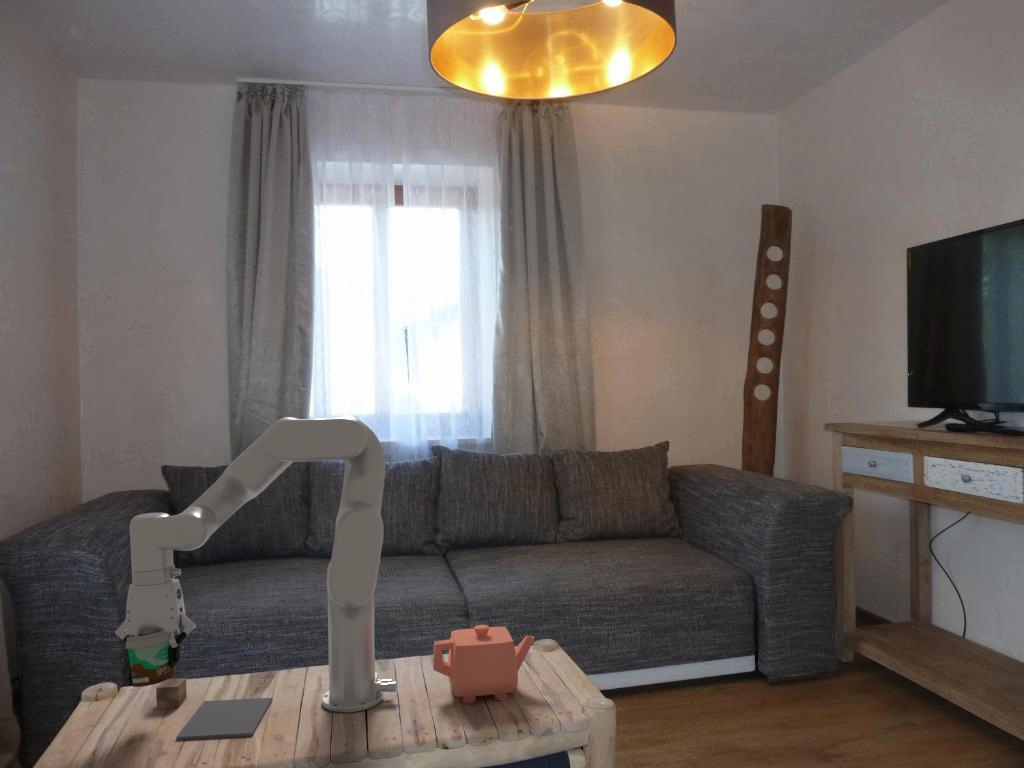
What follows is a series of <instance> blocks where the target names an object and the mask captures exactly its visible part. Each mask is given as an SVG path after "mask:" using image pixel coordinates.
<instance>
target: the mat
mask: <svg viewBox="0 0 1024 768" xmlns="http://www.w3.org/2000/svg"><path fill="white" fill-rule="evenodd" d="M272 700H273V697H260V698H259V697H257V698H241V699H240V698H239V699H237V698H236V699H222V700H221V699H220V700H204V701H203V702H202V703H201V704H200V706H199V707H198V709H197V710H196V711H195V713H194V714H193V715H192V716H191V718H190V719H189V720H188V721H187V723H186V724H185V726H184V727H182V729H181V730H180V732H179V733H178V734H177V736H176V741H184V740H202V739H203V738H207V739H222V737H226V738H238V737H239V738H240V737H243V738H244V737H253V736H254V734H255V732H256V731H257V729H258V728H259V726H260V724H261V722H262V720H263V718H264V717H265V715H266V713H267V711H268V710H269V708H270V706H271V705H272V702H273V701H272ZM203 740H204V739H203Z"/></svg>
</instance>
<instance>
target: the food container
mask: <svg viewBox="0 0 1024 768" xmlns="http://www.w3.org/2000/svg"><path fill="white" fill-rule="evenodd" d="M178 631H179V634H180V633H181V632H180V628H179V629H178ZM174 635H175V637H176V636H177V635H178V633H177V631H176V632H175V633H174ZM170 639H172V638H171V635H170V634H168V633H165V630H163V631H161V632H157V633H154V634H149V635H142V636H138V637H127V641H126V643H125V650H127V652H128V653H127V654H128V659H129V667H130V673H131V674H130V675H131V680H132V686H133V687H132V688H135V687H136V688H139V687H148V686H152V685H156V684H160V683H161V682H163V681H165V680H167V679H172V677H174V676H175V675H176V666H177V664H176V665H175V667H174V668H169V659H168V649H169V648H170V643H169V640H170Z"/></svg>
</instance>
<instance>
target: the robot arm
mask: <svg viewBox="0 0 1024 768" xmlns="http://www.w3.org/2000/svg"><path fill="white" fill-rule="evenodd" d="M324 461H327V462H328V461H329V462H330V461H343V462H344V476H343V482H342V492H341V497H340V498H341V499H340V503H339V509H338V512H337V514H336V515H337V516H336V518H335V524H334V525H335V531H334V540H333V545H332V551H331V552H332V553H331V557H330V562H329V563H328V565H327V570H326V571H327V572H326V584H327V585H326V587H327V588H326V589H327V619H328V620H327V621H328V622H327V624H328V628H327V632H328V633H327V634H328V636H327V637H328V683H329V684H328V685H329V688H328V689H329V690H326V692H324V693H323V694H322V697H321V705H322V707H323V708H325V709H327V710H328V711H332V712H335V713H355V712H361V711H364V710H368V709H371V708H374V707H375V706H376V705H378V704H379V703H381V702H382V700H383V698H384V693H385V692H387V693H396V692H397V681H392V678H385V679H381V678H379V673H378V672H376V656H375V651H376V649H375V593H374V592H375V590H376V586H377V585H376V584H377V581H378V574H379V567H380V564H381V563H380V562H381V555H382V548H383V542H384V531H385V529H384V528H385V527H384V521H383V519H382V503H383V498H384V497H383V496H384V487H385V486H384V484H385V478H386V457H385V453H384V449H383V446H382V444H381V442H380V439H379V438H378V437H377V435H376V434H375V432H374V431H373V430H372V429H371V428H370V427H369V426H368V425H367V424H366V423H364V422H363V421H362V420H360V419H359V418H358V417H355V416H352V415H346V414H343V415H340V416H336V417H331V418H303V419H301V418H296V417H293V416H291V417H290V416H286V417H282V418H279V419H278V420H276V421H275V422H273V423H271V425H270V426H269V427H268V428H267V429H266V430H265V431H264V432H263V433H262V434H261V435H260V436H258V438H256V440H254V441H253V442H252V443H251V444H250V445H249V446H248V447H247V448H246V449H244V451H243V452H241V453H240V454H239V455H238V456H237V457H236V458H235V459H234V460H233V461H231V462H230V463H229V465H228V466H227V467H226V468H225V469H224V471H223V472H222V474H221V475H220V476H219V477H218V478H217V480H215V482H214V483H213V484H212V485H211V486H209V487H208V489H206V490H205V491H204V492H203V493H202V494H201V495H200V496H199V497H198V498H197V499H195V501H193V502H192V503H191V504H190V505H189V506H188V507H187V508H186V509H184V510H183V511H181V512H180V513H178V514H174V515H170V514H168V513H167V512H149V513H141V514H138V515H135V516H134V517H133V518H131V520H130V522H129V537H130V538H129V539H130V540H129V541H130V559H131V561H130V562H131V580H132V582H131V584H129V586H128V591H127V597H126V604H125V605H126V607H125V608H126V609H125V619H124V620H123V622H121V625H120V626H119V627H118V628H117V629H116V630H115V633H114V634H115V635H116V636H117V637H118V638H120V639H121V640H123V642H124V643H125V644H126V641H127V637H138V636H142V635H149V634H154V633H157V632H161V631H163V630H165V633H168V634H170V635H171V638H172V639H170V640H169V643H170V648H169V649H168V659H169V668H174V667H175V665H176V666H177V665H178V663H179V662H180V660H181V647H180V645H181V643H182V642H183V641H184V639H186V637H187V636H188V635H189V634H190V633H192V631H193V630H195V628H196V627H197V625H196V623H195V622H193V620H191V618H189V617H188V615H186V609H185V602H184V601H185V600H184V594H183V591H182V587H181V582H180V580H179V578H176V577H178V576H179V577H180V576H181V575H182V569H181V568H176V565H175V564H174V551H194V550H197V549H199V548H200V547H203V546H204V545H205V543H207V541H208V540H209V539H210V537H211V536H212V535H213V534H214V533H215V532H216V531H217V530H218V529H219V528H220V527H221V526H222V525H223V524H224V523H225V522H226V521H227V520H229V518H230V517H231V516H232V515H234V514H235V513H236V512H237V511H238V510H239V509H240V508H241V507H242V506H244V505H245V504H247V502H249V501H250V500H253V499H255V498H257V497H258V496H259V495H260V494H261V493H262V492H263V491H265V490H266V488H268V487H269V485H271V484H272V483H273V482H274V481H275V480H276V479H277V478H278V477H279V476H281V474H282V473H283V472H285V470H286V469H287V468H289V467H290V466H291V465H292V464H293V463H294V462H295V463H296V462H299V463H300V462H301V463H304V462H309V463H310V462H324ZM181 627H184V629H183V630H182V631H181V632H180V633H179V631H178V629H179V630H180V628H181ZM176 631H177V633H178V635H177V636H176V637H175V635H174V633H175V632H176Z"/></svg>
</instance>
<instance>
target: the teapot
mask: <svg viewBox="0 0 1024 768" xmlns="http://www.w3.org/2000/svg"><path fill="white" fill-rule="evenodd" d="M534 641H535V638H534V636H533V635H525V637H523V639H522V640H521V641H520V642H519V643H518V645H517V646H516V647H515V642H514V639H513V638H512V635H511V633H510V632H509V630H508V629H507V627H506V626H489V625H487V624H479V625H475V626H474V627H473V628H465V629H464V628H463V629H455V630H452V631H451V634H450V638H449V639H443V640H436V641H433V642H434V643H433V663H432V664H433V665H432V667H433V671H435V672H437V673H440V674H442V675H444V676H446V677H449V681H450V685H451V689H452V692H453V695H454V696H455V697H457V698H462V699H461V702H462V703H464V704H473V703H475V702H476V698H477V697H480V696H481V697H482V696H494V699H495V700H497V699H498V701H502V700H501V699H505V700H507V699H508V698H509V696H508V693H513V692H517V689H518V686H519V683H518V682H519V671H520V668H521V667H522V664H523V663H524V662H525V659H526V657H527V655H528V653H529V651H530V649H531V647H532V645H533V643H534ZM443 650H448V661H445V660H444V657H443ZM507 697H508V698H507ZM506 698H507V699H506Z"/></svg>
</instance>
